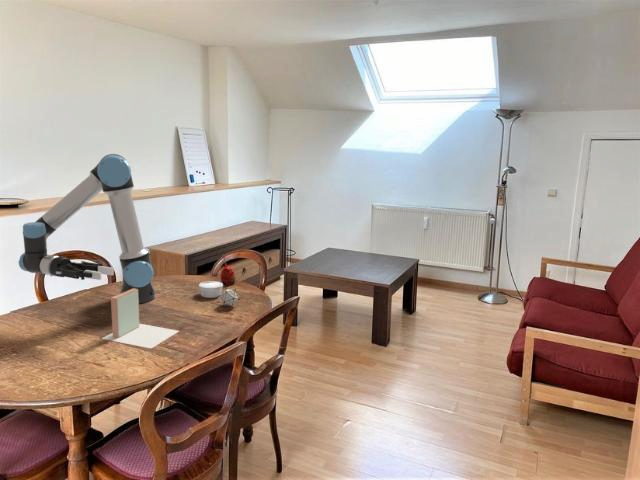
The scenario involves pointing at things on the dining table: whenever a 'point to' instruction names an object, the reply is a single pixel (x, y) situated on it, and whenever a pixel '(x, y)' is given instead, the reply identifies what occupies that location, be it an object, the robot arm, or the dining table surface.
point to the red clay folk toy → (227, 274)
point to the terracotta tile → (125, 312)
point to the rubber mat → (144, 336)
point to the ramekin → (210, 289)
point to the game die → (229, 297)
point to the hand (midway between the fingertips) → (106, 273)
